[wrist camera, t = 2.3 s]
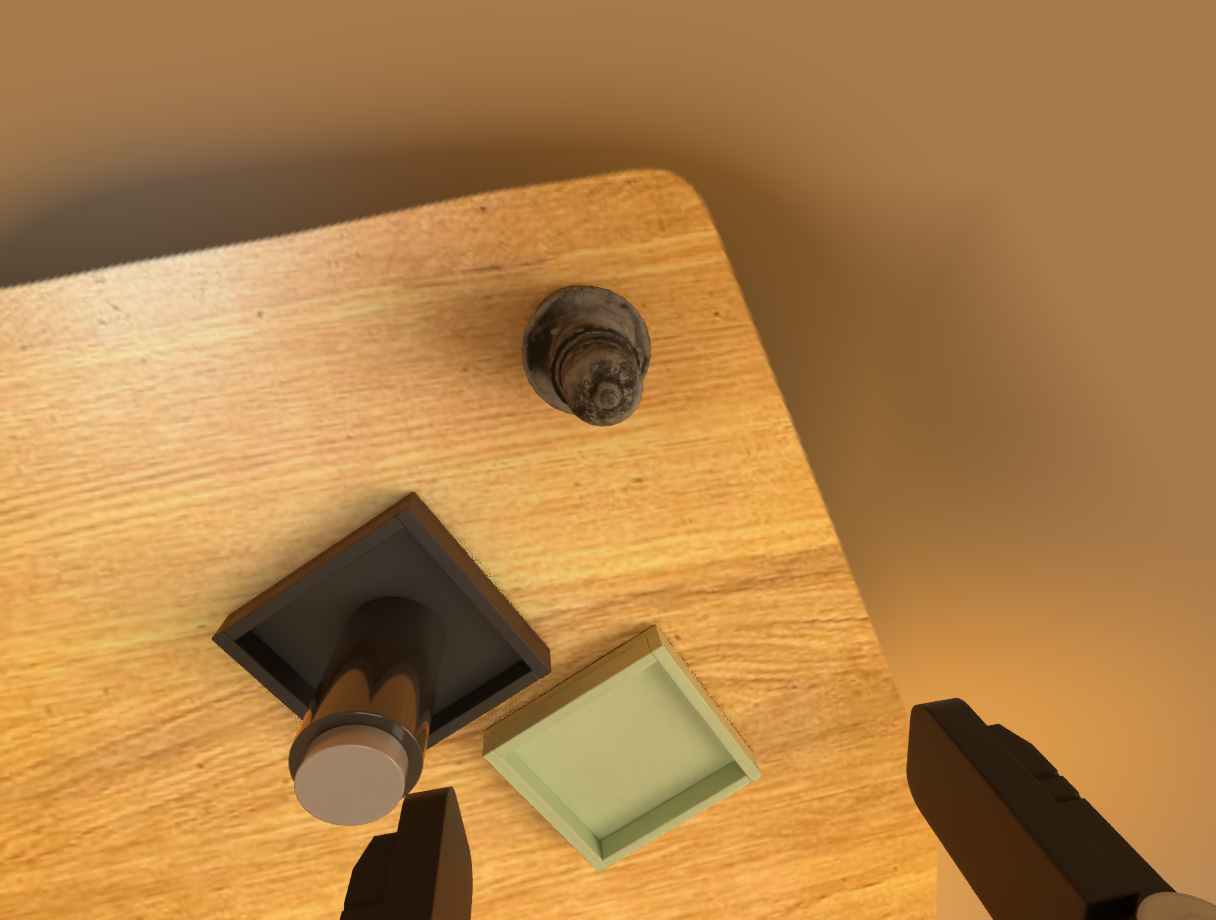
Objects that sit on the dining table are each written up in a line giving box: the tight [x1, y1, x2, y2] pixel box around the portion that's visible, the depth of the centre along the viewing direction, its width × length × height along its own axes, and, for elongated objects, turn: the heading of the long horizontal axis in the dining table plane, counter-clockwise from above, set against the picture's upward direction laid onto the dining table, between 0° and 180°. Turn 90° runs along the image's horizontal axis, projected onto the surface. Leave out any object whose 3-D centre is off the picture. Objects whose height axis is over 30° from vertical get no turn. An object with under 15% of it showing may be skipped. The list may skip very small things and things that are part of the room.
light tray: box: [483, 625, 762, 872], centre depth 41 cm, size 13×13×2 cm
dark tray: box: [212, 492, 551, 750], centre depth 36 cm, size 13×13×2 cm
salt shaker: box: [521, 286, 651, 426], centre depth 27 cm, size 6×6×12 cm
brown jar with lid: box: [288, 597, 445, 826], centre depth 32 cm, size 6×6×10 cm
